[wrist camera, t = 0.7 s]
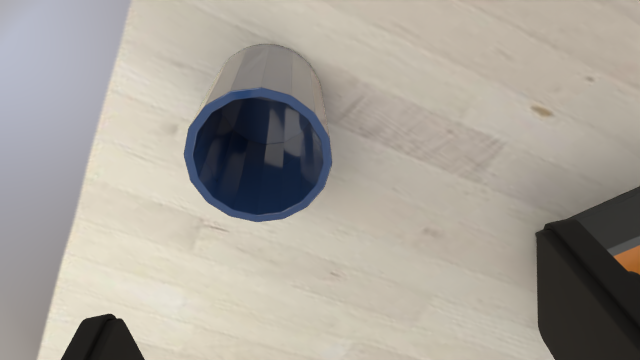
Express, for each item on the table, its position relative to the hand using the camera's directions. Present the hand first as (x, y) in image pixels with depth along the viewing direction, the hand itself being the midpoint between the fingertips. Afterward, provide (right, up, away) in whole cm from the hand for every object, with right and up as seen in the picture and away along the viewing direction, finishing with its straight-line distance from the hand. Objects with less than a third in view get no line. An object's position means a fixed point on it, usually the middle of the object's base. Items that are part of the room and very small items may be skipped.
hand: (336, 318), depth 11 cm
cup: (-4, +8, +18) cm, 20 cm away
